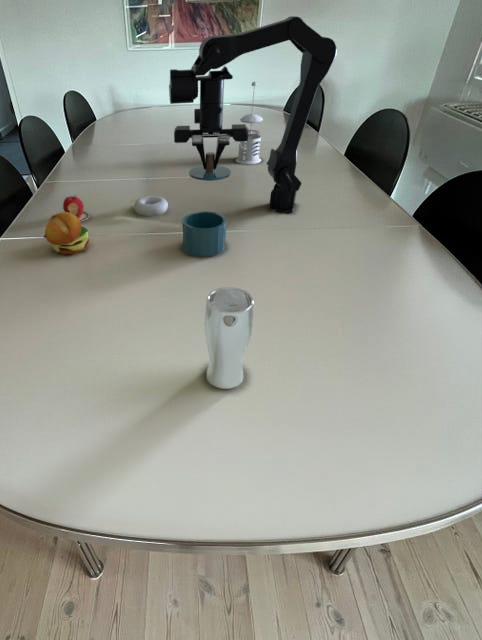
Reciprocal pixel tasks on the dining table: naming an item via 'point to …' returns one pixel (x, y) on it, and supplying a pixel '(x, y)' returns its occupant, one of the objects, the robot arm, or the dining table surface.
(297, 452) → the dining table surface
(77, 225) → the cheeseburger
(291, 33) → the robot arm
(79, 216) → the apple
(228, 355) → the beer glass
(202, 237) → the canister
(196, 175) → the lid
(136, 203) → the donut
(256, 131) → the french press
